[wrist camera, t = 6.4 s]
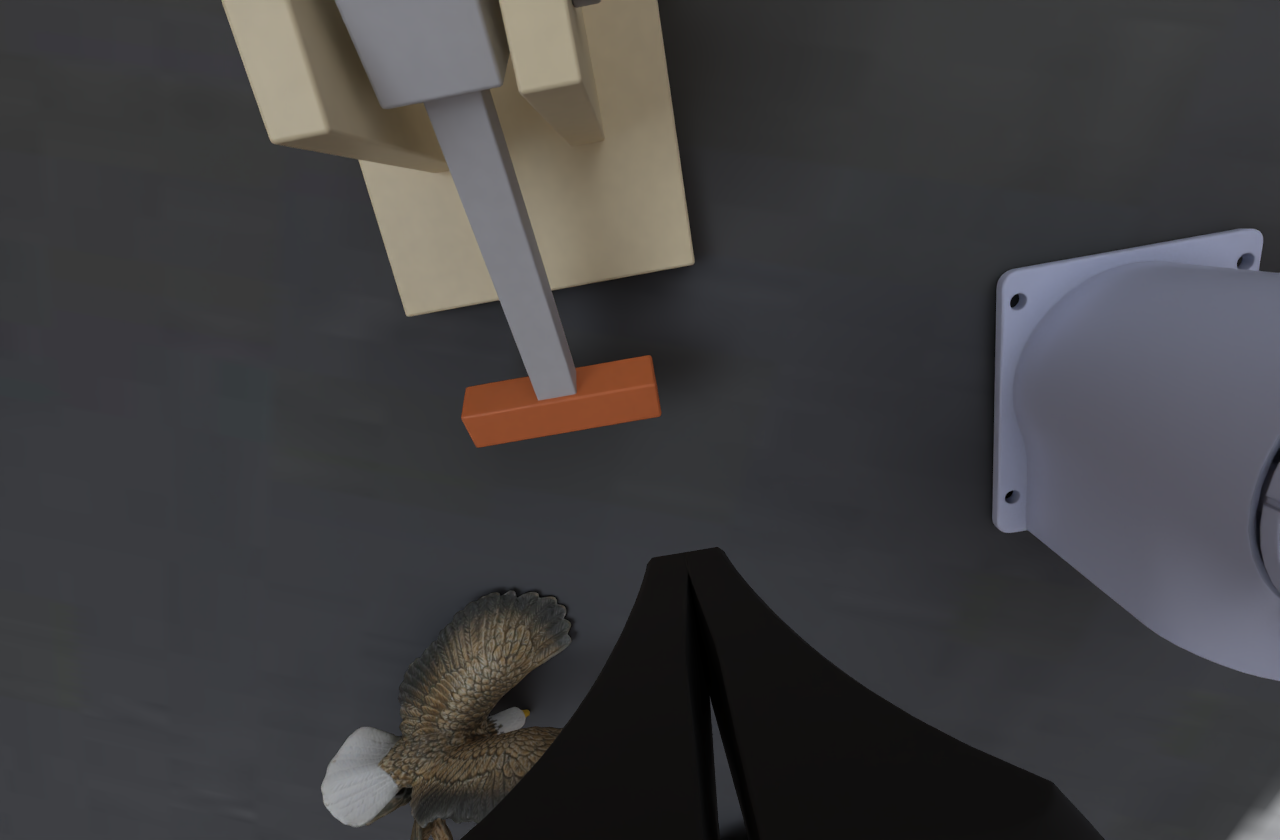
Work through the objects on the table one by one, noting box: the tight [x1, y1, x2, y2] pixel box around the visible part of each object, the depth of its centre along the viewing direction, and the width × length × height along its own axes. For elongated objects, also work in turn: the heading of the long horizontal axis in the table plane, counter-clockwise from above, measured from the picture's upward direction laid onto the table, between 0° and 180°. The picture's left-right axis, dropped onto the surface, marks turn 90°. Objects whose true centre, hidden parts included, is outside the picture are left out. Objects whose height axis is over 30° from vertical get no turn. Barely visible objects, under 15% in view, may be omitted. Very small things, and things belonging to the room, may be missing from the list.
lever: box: [335, 0, 661, 448], centre depth 14 cm, size 12×6×2 cm, turn 10°
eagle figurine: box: [321, 591, 571, 840], centre depth 22 cm, size 8×7×9 cm
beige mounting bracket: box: [221, 0, 695, 317], centre depth 13 cm, size 12×9×9 cm
